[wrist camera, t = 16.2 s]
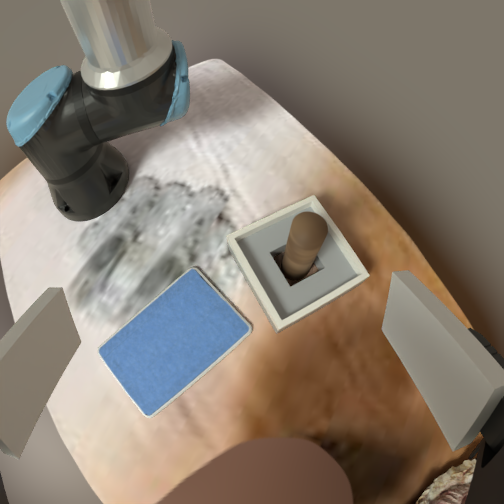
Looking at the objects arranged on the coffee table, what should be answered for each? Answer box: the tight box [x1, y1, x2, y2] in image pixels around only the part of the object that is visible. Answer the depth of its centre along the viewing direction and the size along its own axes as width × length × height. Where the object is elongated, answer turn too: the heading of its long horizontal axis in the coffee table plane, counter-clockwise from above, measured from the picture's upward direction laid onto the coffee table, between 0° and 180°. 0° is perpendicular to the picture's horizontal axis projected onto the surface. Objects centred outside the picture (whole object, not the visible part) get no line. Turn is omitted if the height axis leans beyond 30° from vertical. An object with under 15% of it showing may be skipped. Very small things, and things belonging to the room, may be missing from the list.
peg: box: [281, 211, 328, 280], centre depth 38 cm, size 4×4×12 cm
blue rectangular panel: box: [98, 267, 252, 418], centre depth 39 cm, size 19×13×1 cm, turn 133°
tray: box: [226, 195, 370, 334], centre depth 42 cm, size 14×14×4 cm
